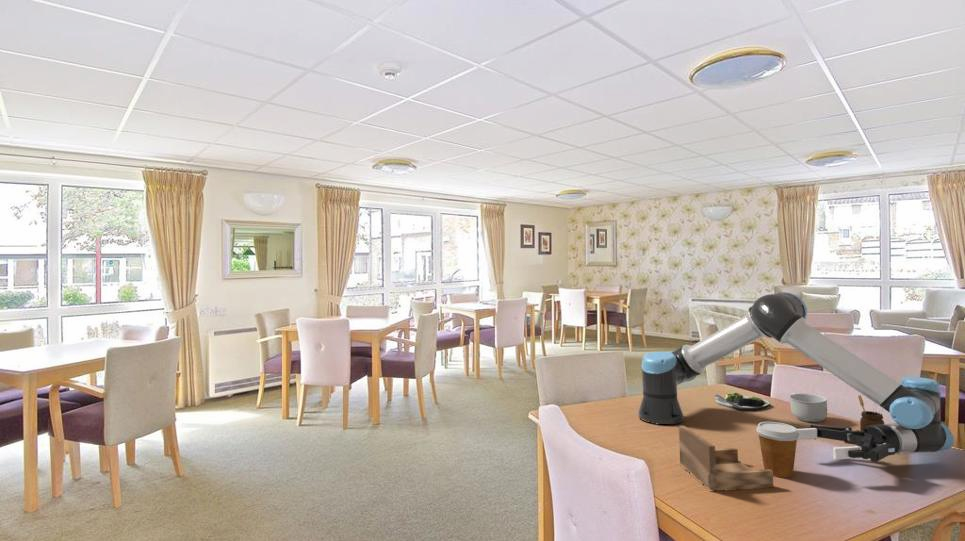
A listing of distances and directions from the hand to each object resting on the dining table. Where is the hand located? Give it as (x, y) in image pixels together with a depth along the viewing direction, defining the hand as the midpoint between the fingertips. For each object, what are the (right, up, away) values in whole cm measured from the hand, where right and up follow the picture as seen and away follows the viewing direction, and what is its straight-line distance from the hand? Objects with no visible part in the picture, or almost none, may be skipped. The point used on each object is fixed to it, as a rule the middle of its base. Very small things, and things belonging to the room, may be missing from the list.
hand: (812, 443), depth 122 cm
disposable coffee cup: (-10, -8, -1) cm, 12 cm away
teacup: (+27, -7, +41) cm, 50 cm away
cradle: (-24, -8, -2) cm, 26 cm away
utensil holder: (+35, -6, +23) cm, 42 cm away
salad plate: (+15, -7, +59) cm, 61 cm away
